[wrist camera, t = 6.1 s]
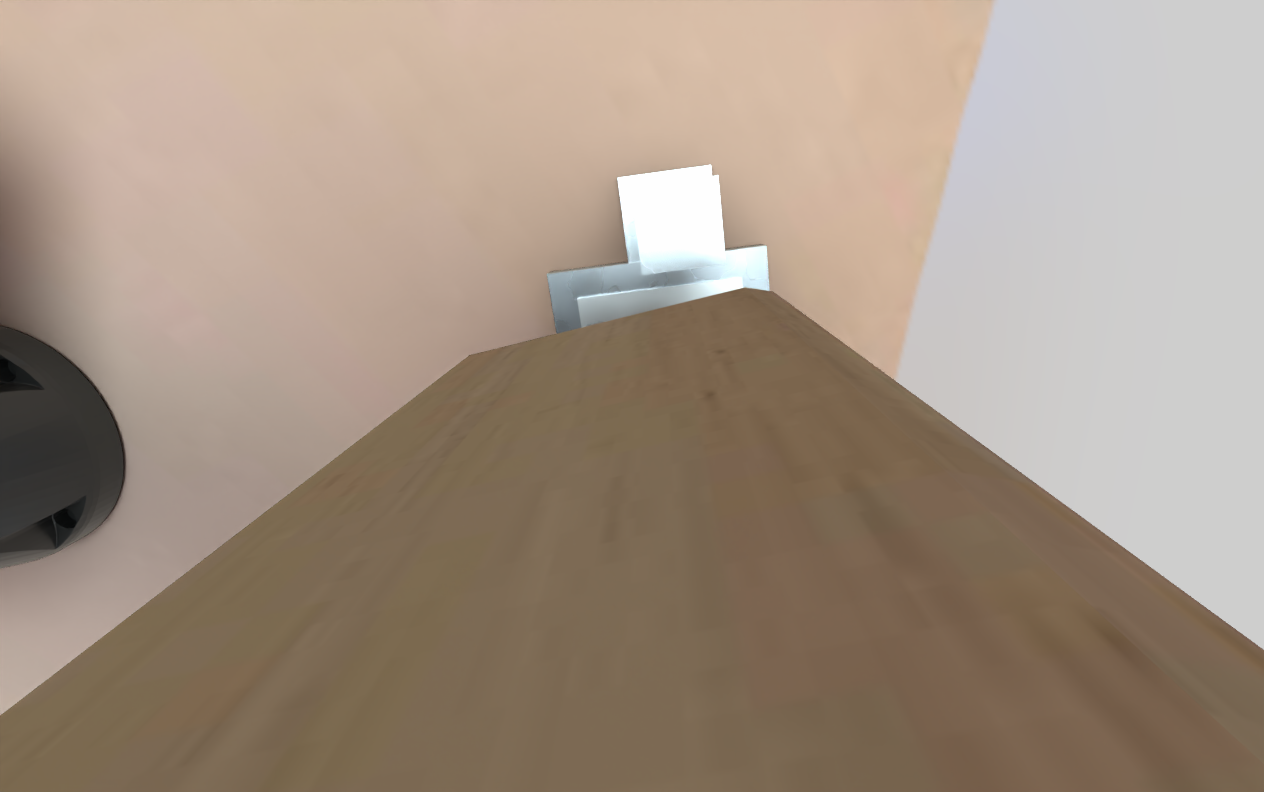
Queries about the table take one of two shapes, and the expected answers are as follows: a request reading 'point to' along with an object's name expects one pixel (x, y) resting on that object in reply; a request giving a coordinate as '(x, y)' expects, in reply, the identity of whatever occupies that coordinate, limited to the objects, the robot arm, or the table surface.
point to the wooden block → (659, 602)
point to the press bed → (660, 253)
